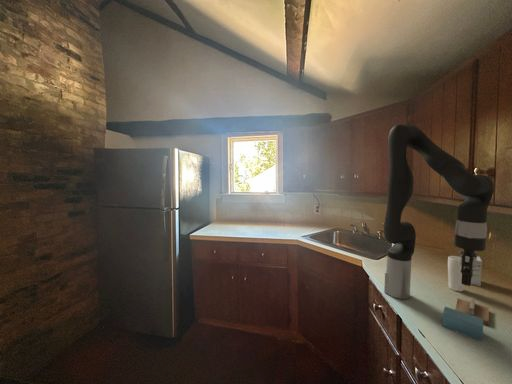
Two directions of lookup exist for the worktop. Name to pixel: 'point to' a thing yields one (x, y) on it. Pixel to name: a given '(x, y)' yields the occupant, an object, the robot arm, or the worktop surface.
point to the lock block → (463, 323)
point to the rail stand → (473, 309)
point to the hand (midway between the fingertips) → (467, 280)
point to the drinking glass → (455, 274)
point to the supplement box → (477, 272)
